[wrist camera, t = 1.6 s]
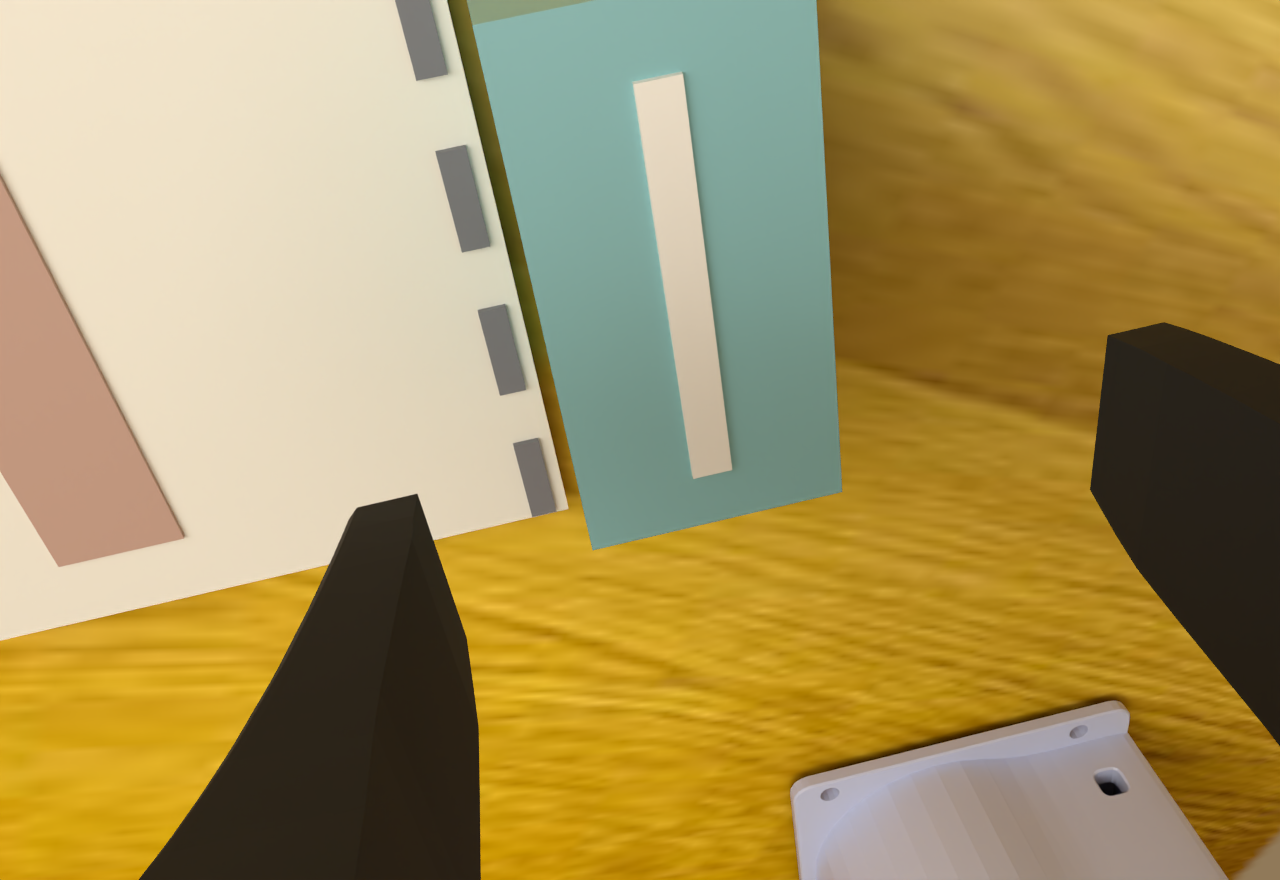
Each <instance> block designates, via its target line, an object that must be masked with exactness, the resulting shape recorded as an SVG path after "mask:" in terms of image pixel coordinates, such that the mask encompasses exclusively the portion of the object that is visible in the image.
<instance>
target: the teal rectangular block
mask: <svg viewBox="0 0 1280 880" xmlns="http://www.w3.org/2000/svg"><path fill="white" fill-rule="evenodd" d="M467 4H468V9H469V13H470V17H471V22H472V26H473V31H474V35H475V39H476V44H477V48H478V52H479V57H480V61H481V66H482V70H483V74H484V79H485V83H486V87H487V92H488V96H489V100H490V105H491V109H492V113H493V118H494V122H495V127H496V131H497V135H498V140H499V144H500V148H501V153H502V157H503V161H504V166H505V170H506V174H507V179H508V183H509V188H510V192H511V196H512V201H513V205H514V209H515V214H516V218H517V222H518V227H519V231H520V235H521V240H522V244H523V249H524V253H525V257H526V262H527V266H528V270H529V275H530V279H531V283H532V288H533V292H534V296H535V301H536V305H537V310H538V314H539V318H540V323H541V327H542V331H543V336H544V340H545V344H546V349H547V353H548V357H549V362H550V366H551V371H552V375H553V379H554V384H555V388H556V392H557V397H558V401H559V405H560V410H561V414H562V418H563V423H564V427H565V432H566V436H567V440H568V445H569V449H570V453H571V458H572V462H573V466H574V471H575V475H576V479H577V484H578V488H579V493H580V497H581V501H582V506H583V510H584V514H585V519H586V523H587V527H588V532H589V536H590V540H591V545H592V549H593V550H596V549H600V548H605V547H609V546H613V545H617V544H622V543H626V542H630V541H634V540H639V539H643V538H647V537H652V536H656V535H660V534H664V533H669V532H673V531H677V530H681V529H686V528H690V527H694V526H699V525H703V524H707V523H711V522H716V521H720V520H724V519H728V518H733V517H737V516H741V515H745V514H750V513H754V512H758V511H763V510H767V509H771V508H775V507H780V506H784V505H788V504H792V503H797V502H801V501H805V500H809V499H814V498H818V497H822V496H827V495H831V494H835V493H839V492H842V479H841V460H840V441H839V422H838V403H837V384H836V365H835V345H834V326H833V307H832V288H831V269H830V250H829V231H828V212H827V193H826V174H825V155H824V136H823V117H822V98H821V79H820V60H819V41H818V22H817V3H816V0H467Z"/></svg>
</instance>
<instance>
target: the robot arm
mask: <svg viewBox="0 0 1280 880" xmlns="http://www.w3.org/2000/svg"><path fill="white" fill-rule="evenodd" d="M1090 490H1091V492H1092V494H1093V496H1094V497H1095V499H1096V501H1097V503H1098V504H1099V506H1100V508H1101V510H1102V511H1103V513H1104V515H1105V517H1106V518H1107V520H1108V522H1109V524H1110V525H1111V527H1112V529H1113V531H1114V532H1115V534H1116V536H1117V537H1118V539H1119V541H1120V542H1121V544H1122V545H1123V547H1124V549H1125V550H1126V552H1127V553H1128V555H1129V557H1130V558H1131V560H1132V561H1133V563H1134V565H1135V566H1136V568H1137V569H1138V570H1139V572H1140V573H1141V574H1142V575H1143V577H1144V578H1145V579H1146V581H1147V582H1148V583H1149V584H1150V586H1151V587H1152V588H1153V590H1154V591H1155V592H1156V593H1157V595H1158V596H1159V597H1160V598H1161V600H1162V601H1163V602H1164V603H1165V605H1166V606H1167V607H1168V608H1169V610H1170V611H1171V612H1172V613H1173V615H1174V616H1175V617H1176V618H1177V620H1178V621H1179V622H1180V623H1181V625H1182V626H1183V627H1184V628H1185V629H1186V631H1187V632H1188V633H1189V634H1190V636H1191V637H1192V638H1193V639H1194V640H1195V642H1196V643H1197V644H1198V645H1199V647H1200V648H1201V649H1202V650H1203V651H1204V653H1205V654H1206V655H1207V656H1208V658H1209V659H1210V660H1211V661H1212V662H1213V664H1214V665H1215V666H1216V667H1217V669H1218V670H1219V671H1220V672H1221V673H1222V675H1223V676H1224V677H1225V678H1226V680H1227V681H1228V682H1229V683H1230V684H1231V686H1232V687H1233V688H1234V689H1235V691H1236V692H1237V693H1238V694H1239V695H1240V697H1241V698H1242V699H1243V700H1244V702H1245V703H1246V704H1247V705H1248V706H1249V708H1250V709H1251V710H1252V711H1253V713H1254V714H1255V715H1256V716H1257V718H1258V719H1259V720H1260V721H1261V722H1262V724H1263V725H1264V726H1265V727H1266V729H1267V730H1268V731H1269V732H1270V734H1271V735H1272V736H1273V738H1274V739H1275V740H1276V742H1277V743H1278V744H1279V746H1280V364H1277V363H1274V362H1272V361H1269V360H1267V359H1264V358H1262V357H1259V356H1257V355H1254V354H1252V353H1249V352H1247V351H1244V350H1241V349H1239V348H1236V347H1234V346H1231V345H1228V344H1226V343H1223V342H1220V341H1218V340H1215V339H1212V338H1210V337H1207V336H1204V335H1201V334H1199V333H1196V332H1193V331H1190V330H1187V329H1184V328H1181V327H1177V326H1174V325H1171V324H1168V323H1159V324H1155V325H1151V326H1146V327H1142V328H1138V329H1133V330H1129V331H1125V332H1120V333H1116V334H1111V335H1108V338H1107V347H1106V355H1105V364H1104V373H1103V382H1102V390H1101V399H1100V408H1099V417H1098V426H1097V434H1096V443H1095V452H1094V461H1093V469H1092V478H1091V487H1090ZM1129 721H1130V713H1129V712H1128V710H1127V709H1126V707H1125V706H1124V705H1123V704H1122V703H1121V702H1119V701H1106V702H1102V703H1098V704H1094V705H1090V706H1086V707H1082V708H1078V709H1074V710H1070V711H1066V712H1062V713H1058V714H1054V715H1050V716H1046V717H1042V718H1038V719H1034V720H1030V721H1026V722H1022V723H1018V724H1014V725H1010V726H1006V727H1002V728H998V729H994V730H990V731H986V732H982V733H978V734H974V735H970V736H966V737H962V738H958V739H954V740H950V741H946V742H942V743H938V744H934V745H930V746H926V747H922V748H918V749H914V750H910V751H906V752H902V753H898V754H894V755H890V756H886V757H882V758H878V759H874V760H870V761H866V762H862V763H858V764H854V765H850V766H846V767H842V768H838V769H834V770H830V771H826V772H822V773H818V774H814V775H810V776H806V777H804V778H801V779H799V780H798V781H796V782H795V783H794V785H793V786H792V787H791V790H790V797H791V806H792V815H793V824H794V833H795V843H796V852H797V861H798V870H799V879H800V880H1229V879H1228V878H1227V876H1226V875H1225V873H1224V872H1223V871H1222V869H1221V868H1220V866H1219V865H1218V863H1217V862H1216V860H1215V859H1214V857H1213V856H1212V855H1211V853H1210V852H1209V850H1208V849H1207V847H1206V846H1205V844H1204V843H1203V841H1202V840H1201V838H1200V837H1199V836H1198V834H1197V833H1196V831H1195V830H1194V828H1193V827H1192V825H1191V824H1190V822H1189V821H1188V820H1187V818H1186V817H1185V815H1184V814H1183V812H1182V811H1181V809H1180V808H1179V806H1178V805H1177V804H1176V802H1175V801H1174V799H1173V798H1172V796H1171V795H1170V793H1169V792H1168V790H1167V789H1166V787H1165V786H1164V785H1163V783H1162V782H1161V780H1160V779H1159V777H1158V776H1157V774H1156V773H1155V771H1154V770H1153V769H1152V767H1151V766H1150V764H1149V763H1148V761H1147V760H1146V758H1145V757H1144V755H1143V754H1142V752H1141V751H1140V750H1139V748H1138V747H1137V745H1136V744H1135V742H1134V741H1133V739H1132V738H1131V736H1130V735H1129V734H1128V727H1129ZM139 880H481V873H480V787H479V731H478V720H477V712H476V704H475V696H474V688H473V681H472V674H471V667H470V659H469V652H468V645H467V638H466V635H465V632H464V629H463V626H462V623H461V620H460V617H459V614H458V612H457V609H456V606H455V603H454V600H453V597H452V594H451V591H450V588H449V585H448V582H447V579H446V576H445V573H444V570H443V567H442V564H441V561H440V559H439V556H438V553H437V550H436V547H435V544H434V541H433V538H432V535H431V532H430V529H429V526H428V523H427V520H426V517H425V514H424V511H423V508H422V506H421V503H420V500H419V497H418V494H414V495H409V496H405V497H401V498H396V499H392V500H388V501H383V502H379V503H374V504H370V505H366V506H361V507H357V508H356V510H355V511H354V512H353V514H352V515H351V517H350V518H349V520H348V522H347V525H346V527H345V529H344V532H343V534H342V536H341V539H340V541H339V543H338V546H337V548H336V550H335V553H334V555H333V557H332V559H331V562H330V564H329V566H328V568H327V571H326V573H325V575H324V577H323V579H322V581H321V584H320V586H319V588H318V590H317V592H316V594H315V596H314V598H313V600H312V603H311V605H310V607H309V609H308V611H307V613H306V615H305V617H304V619H303V621H302V623H301V625H300V627H299V629H298V630H297V632H296V634H295V636H294V638H293V640H292V642H291V644H290V646H289V648H288V650H287V652H286V654H285V656H284V658H283V660H282V662H281V664H280V666H279V667H278V669H277V671H276V673H275V675H274V677H273V678H272V680H271V682H270V684H269V685H268V687H267V689H266V691H265V692H264V694H263V696H262V697H261V699H260V701H259V702H258V704H257V706H256V708H255V709H254V711H253V713H252V714H251V716H250V718H249V720H248V721H247V723H246V725H245V726H244V728H243V730H242V731H241V733H240V735H239V737H238V738H237V740H236V742H235V743H234V745H233V747H232V748H231V750H230V751H229V753H228V755H227V756H226V758H225V759H224V761H223V762H222V764H221V765H220V767H219V769H218V770H217V772H216V773H215V775H214V776H213V778H212V779H211V781H210V782H209V784H208V785H207V787H206V788H205V790H204V791H203V793H202V794H201V796H200V797H199V799H198V800H197V802H196V803H195V804H194V806H193V807H192V809H191V810H190V812H189V813H188V814H187V816H186V817H185V819H184V820H183V821H182V823H181V824H180V826H179V827H178V828H177V830H176V831H175V833H174V834H173V836H172V837H171V838H170V840H169V841H168V842H167V844H166V845H165V846H164V848H163V849H162V850H161V852H160V853H159V854H158V856H157V857H156V858H155V859H154V861H153V862H152V863H151V865H150V866H149V867H148V868H147V870H146V871H145V872H144V874H143V875H142V876H141V877H140V879H139Z"/></svg>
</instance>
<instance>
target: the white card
mask: <svg viewBox="0 0 1280 880" xmlns="http://www.w3.org/2000/svg"><path fill="white" fill-rule="evenodd" d="M414 494H418V497H419V500H420V503H421V506H422V508H423V511H424V514H425V517H426V520H427V523H428V526H429V529H430V532H431V535H432V538H433V540H436V539H441V538H445V537H449V536H454V535H458V534H462V533H467V532H471V531H475V530H480V529H484V528H488V527H493V526H497V525H501V524H505V523H510V522H514V521H518V520H523V519H527V518H531V517H536V516H540V515H544V514H549V513H553V512H557V511H562V510H566V509H568V504H567V499H566V495H565V490H564V486H563V482H562V477H561V473H560V469H559V465H558V461H557V457H556V452H555V448H554V444H553V440H552V436H551V431H550V427H549V423H548V419H547V415H546V411H545V406H544V402H543V398H542V394H541V390H540V386H539V381H538V377H537V373H536V369H535V365H534V360H533V356H532V352H531V348H530V344H529V340H528V335H527V331H526V327H525V323H524V319H523V314H522V310H521V306H520V302H519V298H518V294H517V289H516V285H515V281H514V277H513V273H512V268H511V264H510V260H509V256H508V252H507V248H506V243H505V239H504V235H503V231H502V227H501V222H500V218H499V214H498V210H497V206H496V202H495V197H494V193H493V189H492V185H491V181H490V176H489V172H488V168H487V164H486V160H485V156H484V151H483V147H482V143H481V139H480V135H479V130H478V126H477V122H476V118H475V114H474V110H473V105H472V101H471V97H470V93H469V89H468V84H467V80H466V76H465V72H464V68H463V64H462V59H461V55H460V51H459V47H458V43H457V39H456V34H455V30H454V26H453V22H452V18H451V13H450V9H449V5H448V1H447V0H0V640H5V639H9V638H13V637H18V636H22V635H26V634H31V633H35V632H39V631H44V630H48V629H52V628H57V627H61V626H65V625H69V624H74V623H78V622H82V621H87V620H91V619H95V618H100V617H104V616H108V615H113V614H117V613H121V612H126V611H130V610H134V609H139V608H143V607H147V606H151V605H156V604H160V603H164V602H169V601H173V600H177V599H182V598H186V597H190V596H195V595H199V594H203V593H208V592H212V591H216V590H221V589H225V588H229V587H234V586H238V585H242V584H246V583H251V582H255V581H259V580H264V579H268V578H272V577H277V576H281V575H285V574H290V573H294V572H298V571H303V570H307V569H311V568H316V567H320V566H324V565H328V564H330V562H331V559H332V557H333V555H334V553H335V550H336V548H337V546H338V543H339V541H340V539H341V536H342V534H343V532H344V529H345V527H346V525H347V522H348V520H349V518H350V517H351V515H352V514H353V512H354V511H355V510H356V508H357V507H361V506H366V505H370V504H374V503H379V502H383V501H388V500H392V499H396V498H401V497H405V496H409V495H414Z"/></svg>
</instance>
